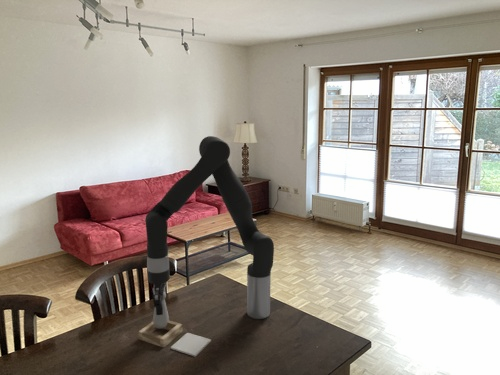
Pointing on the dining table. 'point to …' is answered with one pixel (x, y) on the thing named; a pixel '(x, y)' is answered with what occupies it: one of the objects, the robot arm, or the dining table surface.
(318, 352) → the dining table surface
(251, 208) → the robot arm
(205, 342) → the felt pad
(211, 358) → the dining table surface
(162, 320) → the salt shaker
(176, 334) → the oak collar
